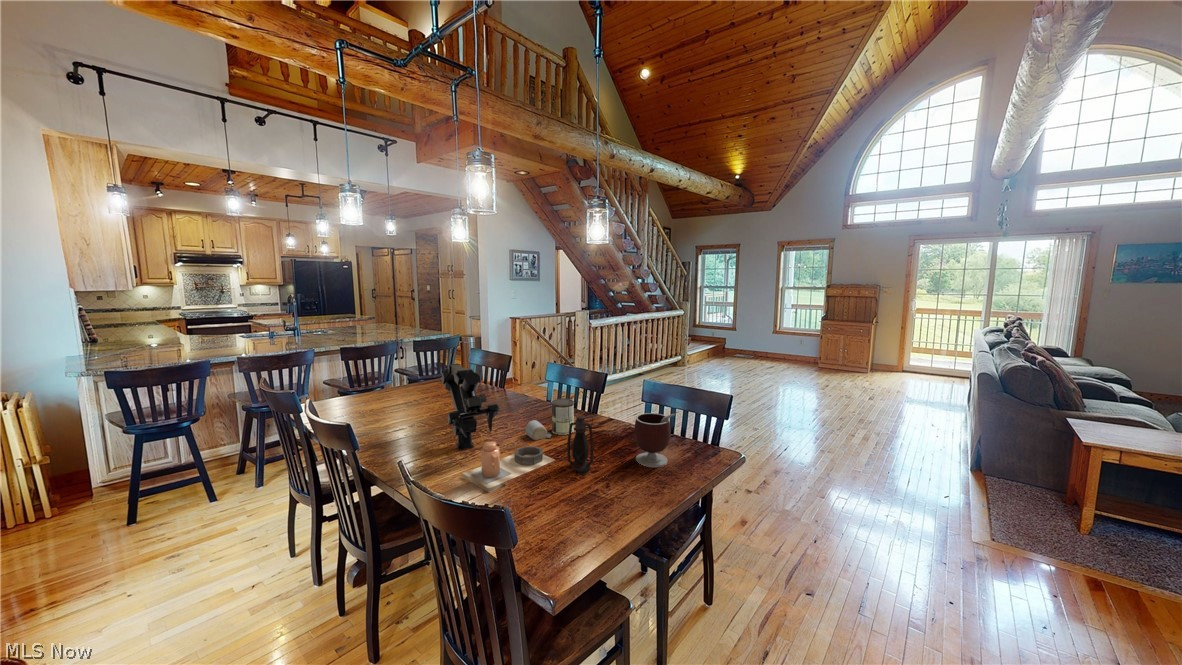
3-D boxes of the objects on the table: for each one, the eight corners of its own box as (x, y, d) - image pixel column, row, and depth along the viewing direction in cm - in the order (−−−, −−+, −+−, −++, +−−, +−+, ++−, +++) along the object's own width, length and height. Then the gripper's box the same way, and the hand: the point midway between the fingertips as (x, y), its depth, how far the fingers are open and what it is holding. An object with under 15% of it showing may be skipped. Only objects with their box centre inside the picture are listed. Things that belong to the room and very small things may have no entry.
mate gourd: (629, 465, 162) (630, 414, 159) (638, 451, 175) (639, 404, 172) (670, 471, 157) (672, 419, 154) (676, 456, 170) (678, 408, 167)
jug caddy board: (529, 451, 173) (528, 441, 173) (555, 463, 163) (555, 452, 162) (463, 477, 152) (462, 465, 151) (488, 492, 141) (488, 480, 140)
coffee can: (547, 431, 196) (546, 402, 194) (561, 425, 204) (561, 397, 202) (564, 436, 190) (564, 406, 188) (578, 430, 198) (578, 400, 196)
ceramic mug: (532, 444, 181) (533, 427, 180) (524, 438, 188) (524, 421, 187) (554, 439, 187) (555, 422, 186) (546, 433, 194) (546, 417, 193)
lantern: (575, 476, 152) (575, 395, 148) (565, 467, 160) (565, 390, 155) (594, 471, 156) (595, 392, 152) (584, 463, 163) (585, 387, 159)
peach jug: (479, 472, 152) (478, 442, 150) (496, 467, 155) (495, 439, 154) (488, 482, 144) (486, 451, 142) (506, 477, 147) (505, 447, 146)
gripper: (446, 391, 156) (455, 430, 148) (496, 383, 165) (507, 419, 157) (444, 405, 164) (452, 443, 157) (491, 397, 173) (501, 432, 165)
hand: (478, 434), depth 159 cm, fingers open, 9 cm apart
